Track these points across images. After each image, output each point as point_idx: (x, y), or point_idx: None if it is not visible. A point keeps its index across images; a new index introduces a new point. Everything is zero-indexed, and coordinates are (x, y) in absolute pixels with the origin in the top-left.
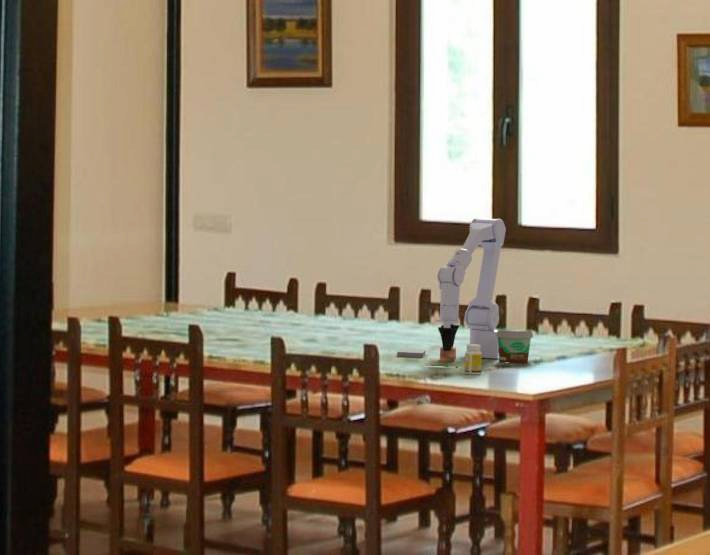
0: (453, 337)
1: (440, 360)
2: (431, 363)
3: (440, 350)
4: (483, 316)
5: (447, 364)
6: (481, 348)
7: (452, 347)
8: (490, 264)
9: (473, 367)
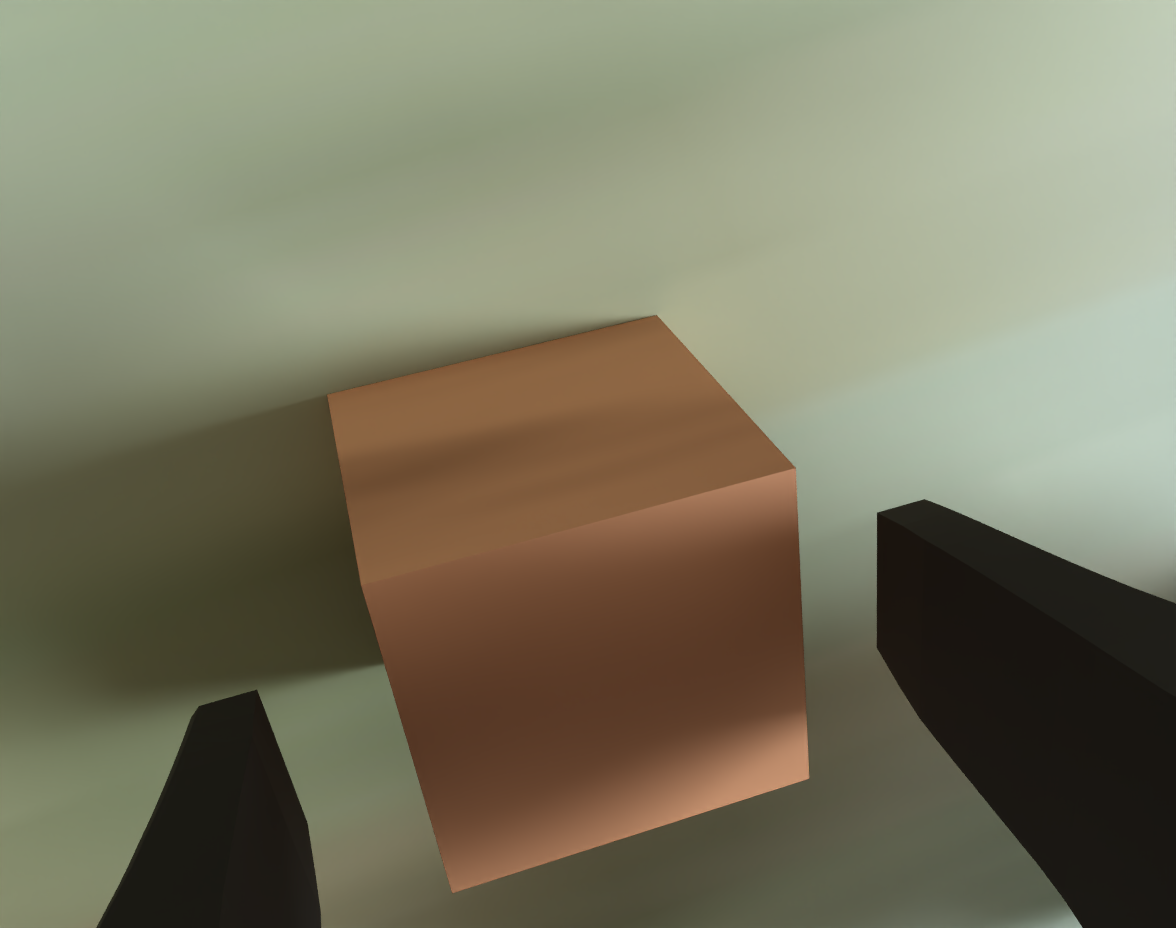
0: (1066, 866)
1: (336, 430)
2: (25, 280)
3: (358, 556)
4: None
5: (126, 627)
6: None
7: (744, 735)
8: None
9: None
